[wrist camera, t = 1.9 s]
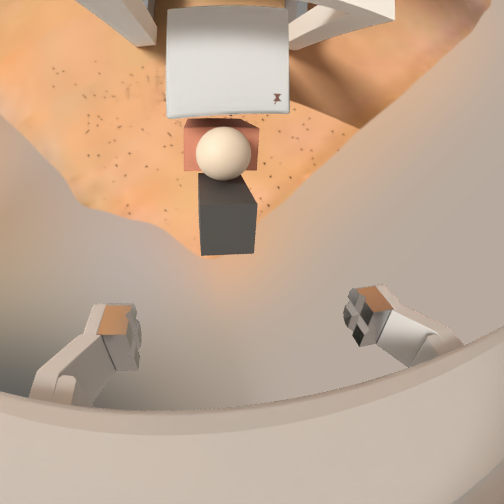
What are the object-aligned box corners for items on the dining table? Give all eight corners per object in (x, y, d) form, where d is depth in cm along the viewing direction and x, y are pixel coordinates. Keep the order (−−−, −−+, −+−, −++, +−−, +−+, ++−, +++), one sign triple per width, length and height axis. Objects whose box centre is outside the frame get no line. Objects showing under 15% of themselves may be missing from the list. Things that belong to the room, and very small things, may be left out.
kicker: (187, 116, 25) (179, 134, 12) (239, 116, 26) (282, 136, 13) (187, 182, 28) (183, 256, 16) (236, 181, 29) (270, 252, 17)
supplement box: (253, 41, 23) (293, 7, 12) (253, 109, 26) (292, 118, 16) (177, 43, 21) (165, 5, 11) (179, 112, 25) (166, 122, 15)
